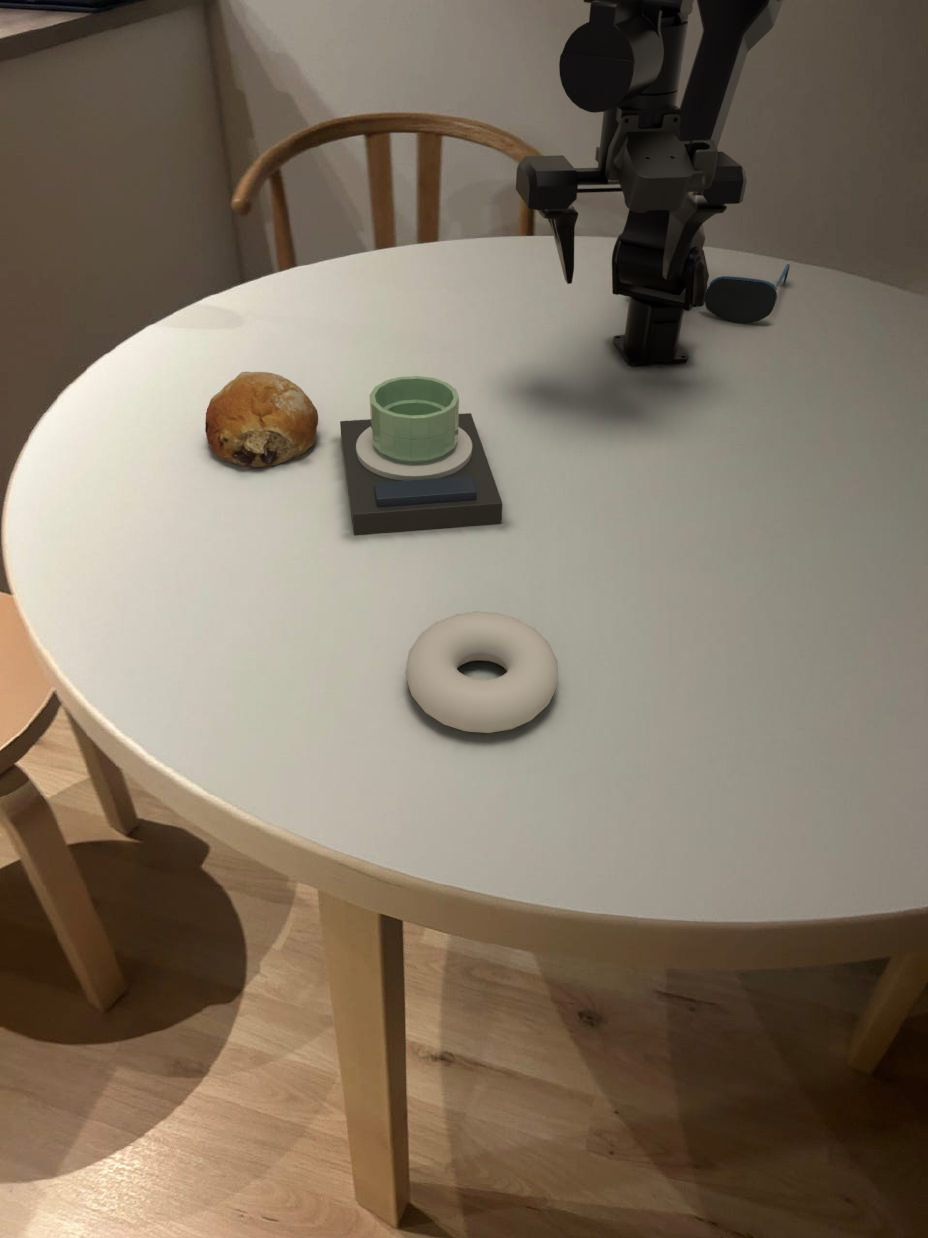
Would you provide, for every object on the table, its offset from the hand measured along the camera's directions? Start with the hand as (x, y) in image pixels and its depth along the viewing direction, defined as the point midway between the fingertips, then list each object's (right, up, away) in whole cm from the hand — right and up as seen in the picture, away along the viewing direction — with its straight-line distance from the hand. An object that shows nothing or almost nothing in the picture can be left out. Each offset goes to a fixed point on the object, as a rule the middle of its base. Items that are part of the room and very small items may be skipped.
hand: (617, 280), depth 87 cm
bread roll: (-32, -15, 0) cm, 35 cm away
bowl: (-18, -16, -4) cm, 24 cm away
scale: (-18, -19, -4) cm, 26 cm away
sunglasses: (+15, +9, +29) cm, 34 cm away
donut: (-13, -35, -23) cm, 44 cm away
